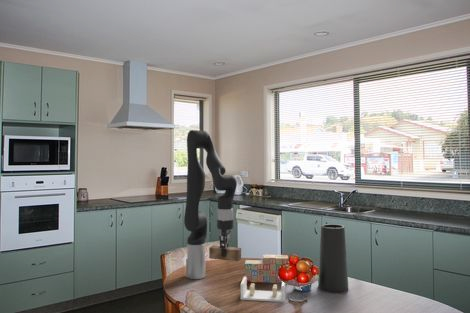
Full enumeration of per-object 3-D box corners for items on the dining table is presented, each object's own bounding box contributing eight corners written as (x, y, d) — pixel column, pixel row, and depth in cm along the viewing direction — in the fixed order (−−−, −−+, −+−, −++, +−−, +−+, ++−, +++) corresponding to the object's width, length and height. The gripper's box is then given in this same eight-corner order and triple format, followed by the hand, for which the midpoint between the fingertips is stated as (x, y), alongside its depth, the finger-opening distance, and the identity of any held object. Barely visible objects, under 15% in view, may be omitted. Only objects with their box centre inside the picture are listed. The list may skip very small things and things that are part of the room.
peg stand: (240, 299, 163) (240, 283, 163) (244, 291, 173) (243, 276, 173) (284, 302, 160) (284, 286, 160) (285, 293, 170) (285, 278, 170)
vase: (353, 287, 177) (353, 225, 177) (339, 295, 167) (339, 230, 167) (327, 281, 186) (326, 222, 186) (312, 288, 176) (312, 226, 176)
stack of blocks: (244, 282, 186) (244, 257, 186) (245, 278, 192) (245, 254, 192) (288, 283, 184) (288, 258, 184) (288, 279, 190) (287, 254, 190)
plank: (209, 258, 175) (209, 247, 175) (212, 255, 179) (212, 245, 179) (238, 261, 170) (238, 250, 170) (241, 258, 174) (241, 247, 174)
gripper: (220, 215, 182) (220, 250, 182) (213, 220, 168) (213, 258, 168) (236, 216, 181) (235, 251, 181) (230, 221, 167) (230, 259, 167)
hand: (225, 254), depth 175 cm, fingers closed on plank, 4 cm apart
